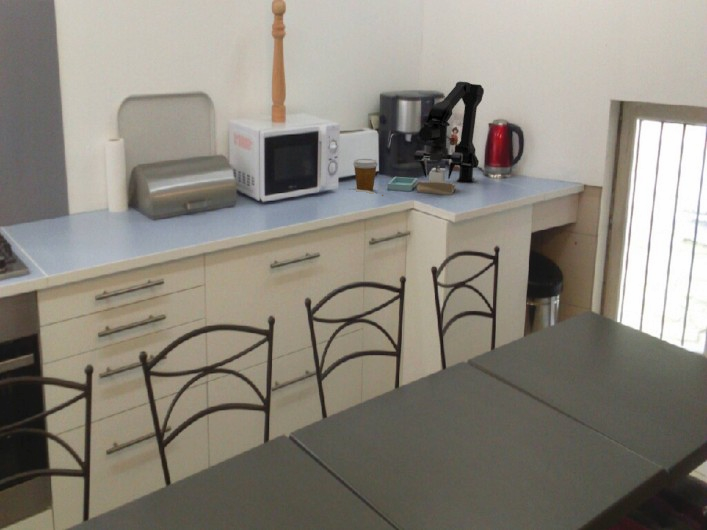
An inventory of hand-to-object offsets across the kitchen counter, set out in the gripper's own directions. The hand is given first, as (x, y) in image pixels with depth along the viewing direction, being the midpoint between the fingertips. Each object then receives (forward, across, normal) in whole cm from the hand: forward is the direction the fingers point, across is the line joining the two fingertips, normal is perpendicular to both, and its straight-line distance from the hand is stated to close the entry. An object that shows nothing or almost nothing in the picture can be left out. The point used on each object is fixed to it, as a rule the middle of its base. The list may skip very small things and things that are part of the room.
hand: (437, 177), depth 301 cm
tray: (+5, -14, +1) cm, 15 cm away
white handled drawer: (+5, 0, 0) cm, 5 cm away
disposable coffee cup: (+5, -27, -10) cm, 29 cm away
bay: (+5, 0, 0) cm, 5 cm away
